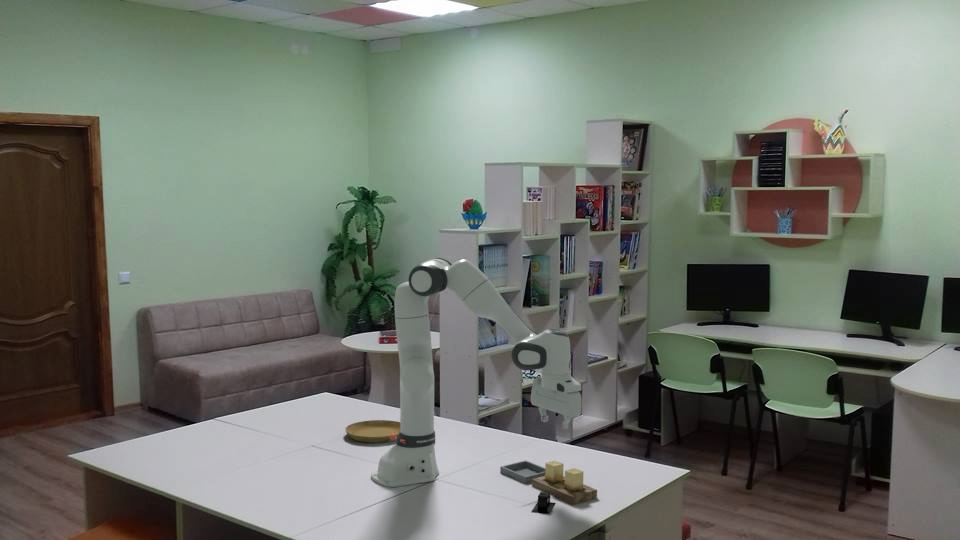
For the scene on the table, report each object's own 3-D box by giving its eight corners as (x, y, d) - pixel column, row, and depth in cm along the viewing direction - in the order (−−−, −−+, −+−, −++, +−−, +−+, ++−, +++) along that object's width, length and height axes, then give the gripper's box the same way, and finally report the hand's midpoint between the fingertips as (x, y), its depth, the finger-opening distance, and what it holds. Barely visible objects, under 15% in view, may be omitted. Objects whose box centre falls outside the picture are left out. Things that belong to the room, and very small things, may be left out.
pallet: (573, 504, 248) (573, 496, 248) (531, 486, 264) (531, 479, 263) (597, 497, 254) (597, 489, 254) (555, 480, 270) (555, 472, 269)
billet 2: (573, 499, 253) (573, 474, 252) (564, 496, 256) (564, 470, 255) (583, 497, 255) (583, 471, 254) (574, 493, 258) (574, 468, 258)
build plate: (536, 501, 253) (537, 486, 253) (560, 503, 251) (560, 488, 251) (527, 515, 242) (527, 499, 241) (552, 518, 240) (552, 502, 239)
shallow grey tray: (525, 485, 265) (525, 477, 265) (500, 473, 276) (500, 466, 275) (551, 478, 272) (551, 470, 272) (525, 467, 282) (525, 460, 282)
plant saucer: (375, 424, 336) (375, 416, 336) (421, 434, 322) (421, 425, 321) (331, 438, 316) (331, 429, 316) (378, 449, 302) (378, 440, 302)
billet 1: (553, 491, 260) (553, 466, 259) (545, 487, 263) (545, 462, 262) (563, 488, 262) (563, 463, 262) (555, 484, 266) (555, 460, 265)
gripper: (526, 376, 266) (525, 419, 267) (570, 389, 250) (569, 434, 251) (541, 374, 270) (540, 416, 271) (585, 386, 253) (584, 430, 255)
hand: (554, 424), depth 261 cm, fingers open, 8 cm apart
